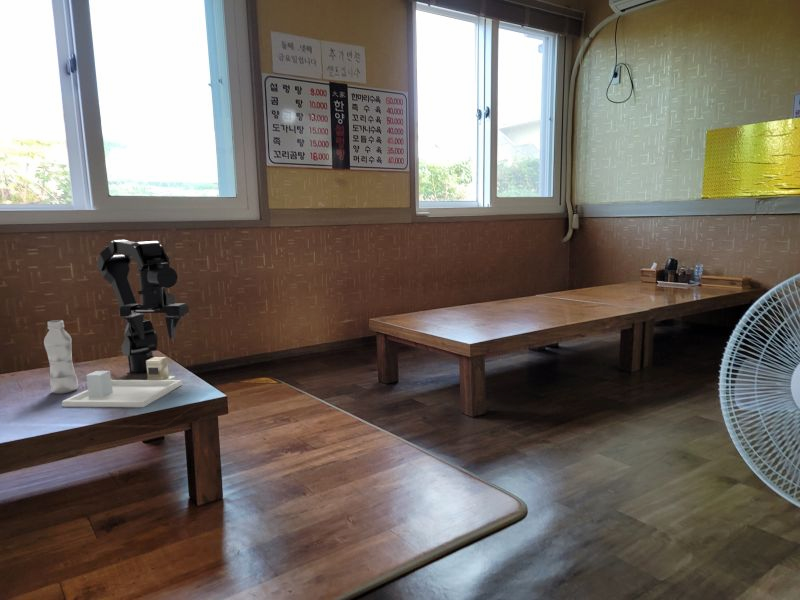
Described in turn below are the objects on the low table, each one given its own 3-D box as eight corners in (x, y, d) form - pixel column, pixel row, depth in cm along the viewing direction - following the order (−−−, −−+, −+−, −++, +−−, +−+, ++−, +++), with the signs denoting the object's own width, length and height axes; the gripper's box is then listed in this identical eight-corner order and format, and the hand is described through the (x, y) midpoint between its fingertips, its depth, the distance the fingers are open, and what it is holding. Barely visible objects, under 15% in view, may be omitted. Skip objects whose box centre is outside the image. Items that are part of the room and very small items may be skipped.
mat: (141, 383, 157) (141, 382, 157) (153, 377, 163) (153, 376, 163) (164, 384, 156) (164, 382, 156) (175, 377, 162) (175, 376, 162)
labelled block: (160, 381, 157) (158, 360, 156) (147, 381, 157) (145, 360, 156) (168, 377, 161) (166, 357, 160) (156, 377, 161) (153, 357, 160)
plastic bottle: (67, 396, 148) (57, 323, 145) (45, 396, 149) (34, 323, 146) (84, 389, 154) (75, 318, 151) (63, 388, 155) (53, 319, 152)
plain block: (88, 397, 145) (86, 375, 144) (99, 392, 149) (96, 370, 148) (102, 397, 144) (100, 375, 143) (112, 392, 148) (110, 370, 147)
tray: (62, 408, 138) (61, 401, 138) (109, 386, 156) (108, 379, 156) (143, 409, 135) (142, 402, 135) (182, 386, 153) (181, 380, 153)
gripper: (196, 281, 163) (201, 333, 166) (139, 282, 166) (144, 333, 169) (175, 286, 152) (181, 341, 155) (114, 287, 155) (121, 341, 158)
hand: (157, 339), depth 159 cm, fingers open, 9 cm apart
